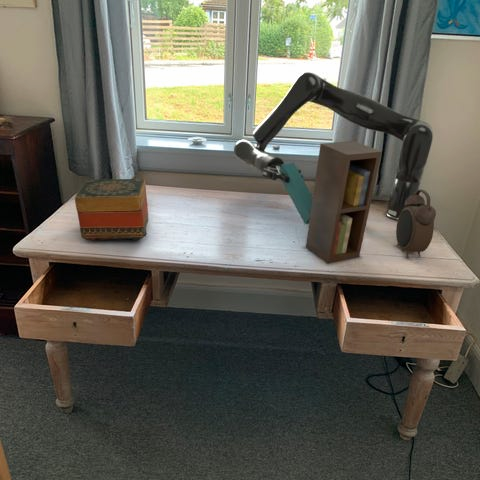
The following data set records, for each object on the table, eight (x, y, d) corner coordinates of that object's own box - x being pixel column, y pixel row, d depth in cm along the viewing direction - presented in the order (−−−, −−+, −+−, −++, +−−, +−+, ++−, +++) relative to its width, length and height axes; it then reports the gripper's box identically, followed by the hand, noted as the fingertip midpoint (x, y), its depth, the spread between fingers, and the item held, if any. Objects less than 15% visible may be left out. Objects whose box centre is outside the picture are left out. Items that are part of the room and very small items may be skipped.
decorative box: (142, 252, 145) (145, 198, 137) (69, 241, 144) (67, 187, 135) (154, 228, 163) (157, 180, 154) (88, 219, 161) (88, 169, 153)
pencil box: (277, 173, 164) (282, 163, 160) (289, 172, 165) (294, 162, 162) (304, 224, 156) (310, 215, 152) (316, 222, 158) (322, 214, 154)
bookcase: (305, 247, 152) (320, 143, 135) (335, 241, 157) (353, 140, 140) (328, 263, 144) (347, 154, 126) (359, 257, 149) (381, 151, 131)
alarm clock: (388, 242, 159) (403, 183, 148) (409, 243, 160) (425, 183, 149) (404, 262, 147) (421, 199, 136) (426, 263, 148) (445, 200, 137)
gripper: (252, 155, 166) (278, 170, 154) (287, 152, 172) (314, 166, 160) (250, 177, 171) (275, 192, 158) (284, 173, 177) (311, 188, 164)
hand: (295, 179), depth 159 cm, fingers closed on pencil box, 4 cm apart
